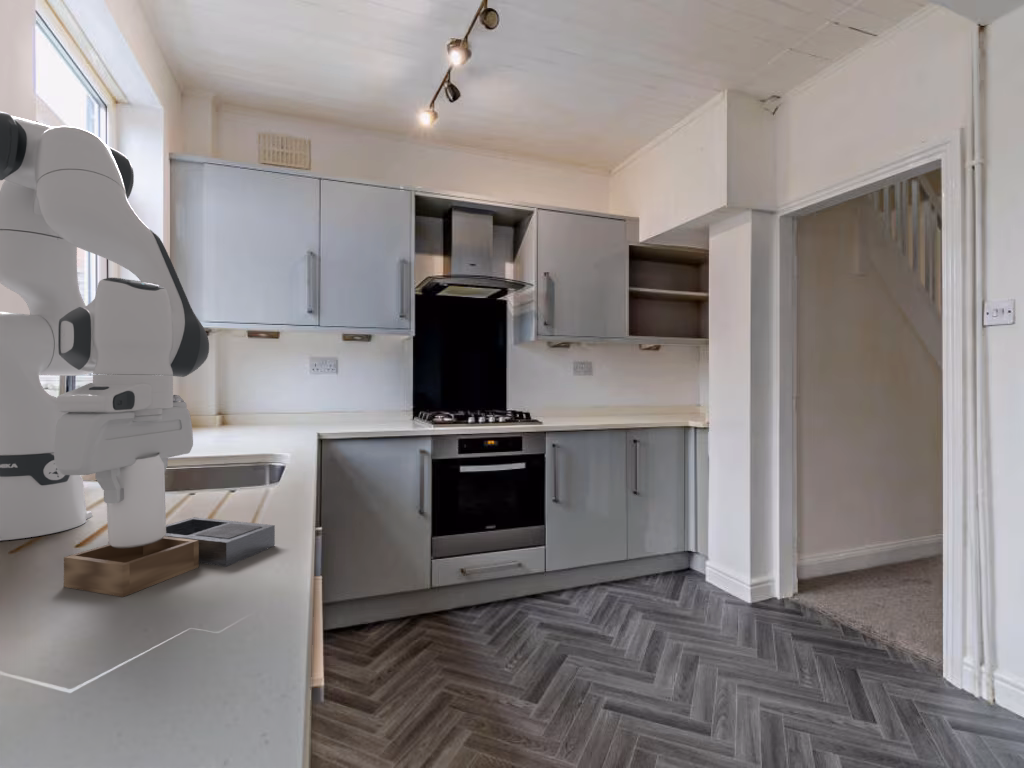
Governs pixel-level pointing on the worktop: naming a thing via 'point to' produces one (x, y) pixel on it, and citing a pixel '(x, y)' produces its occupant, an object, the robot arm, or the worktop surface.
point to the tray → (224, 538)
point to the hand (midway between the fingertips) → (134, 496)
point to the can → (139, 505)
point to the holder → (130, 566)
